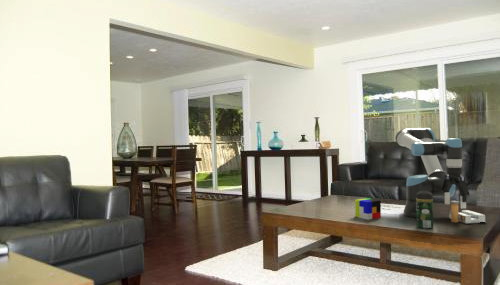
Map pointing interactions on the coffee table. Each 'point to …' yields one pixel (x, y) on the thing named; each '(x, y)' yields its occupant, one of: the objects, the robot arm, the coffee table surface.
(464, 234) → the coffee table surface
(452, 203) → the orange cylindrical piece
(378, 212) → the puzzle toy
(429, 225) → the coffee jar
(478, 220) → the white ridged tray
